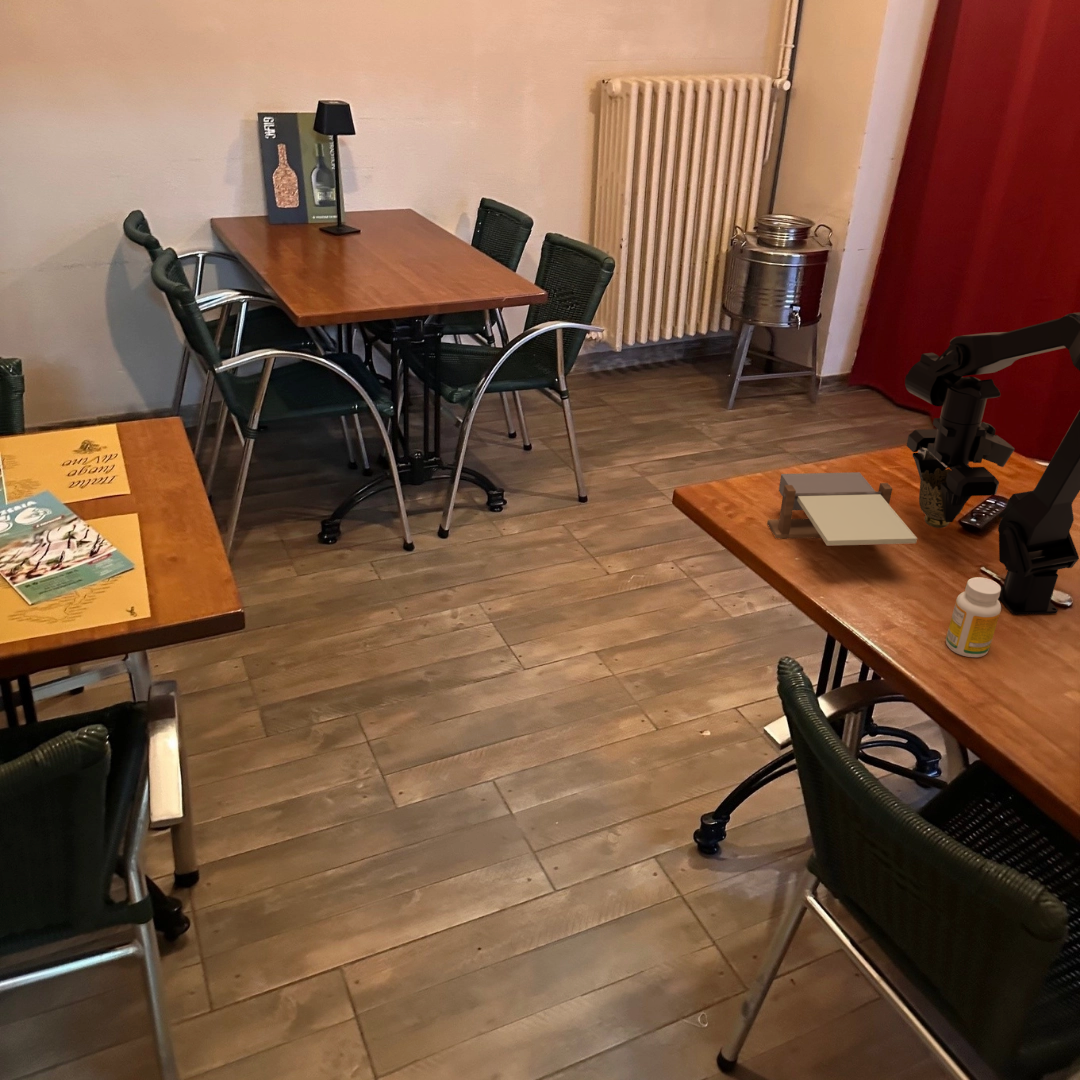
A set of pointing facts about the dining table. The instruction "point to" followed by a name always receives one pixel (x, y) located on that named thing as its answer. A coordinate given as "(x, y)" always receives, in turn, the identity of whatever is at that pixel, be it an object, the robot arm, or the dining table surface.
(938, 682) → the dining table surface
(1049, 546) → the robot arm
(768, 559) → the dining table surface
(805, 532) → the post frame
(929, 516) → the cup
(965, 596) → the supplement bottle
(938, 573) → the dining table surface
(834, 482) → the trapdoor
